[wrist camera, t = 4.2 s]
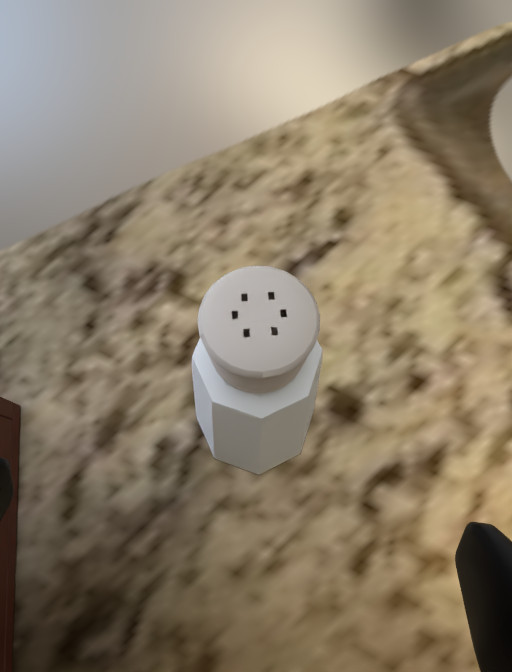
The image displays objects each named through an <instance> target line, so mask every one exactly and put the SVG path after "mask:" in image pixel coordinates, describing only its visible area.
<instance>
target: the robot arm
mask: <svg viewBox="0 0 512 672" xmlns="http://www.w3.org/2000/svg"><path fill="white" fill-rule="evenodd" d="M13 494H14V487H13V481H12V475H11V469H10V464H9V462H8V460H7V459H5V458H2V457H0V521H1V520H2V518H3V516H4V514H5V512H6V511H7V509H8V507H9V505H10V503H11V501H12V498H13ZM455 562H456V568H457V573H458V578H459V582H460V587H461V592H462V596H463V601H464V605H465V610H466V615H467V619H468V624H469V629H470V633H471V638H472V642H473V646H474V650H475V654H476V658H477V661H478V664H479V668H480V671H481V672H512V541H511V540H509V539H508V538H507V537H506V536H505V535H504V534H503V533H502V532H501V531H499V530H498V529H497V528H496V527H495V526H493V525H491V524H486V523H478V522H470V523H468V524H467V526H466V528H465V530H464V533H463V535H462V538H461V540H460V543H459V545H458V548H457V551H456V555H455Z"/></svg>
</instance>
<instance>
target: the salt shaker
mask: <svg viewBox="0 0 512 672" xmlns="http://www.w3.org/2000/svg"><path fill="white" fill-rule="evenodd" d="M198 328H199V334H200V339H199V342H198V344H197V346H196V349H195V351H194V353H193V356H192V375H193V386H194V397H195V408H196V417H197V419H198V422H199V424H200V426H201V428H202V431H203V433H204V435H205V438H206V440H207V442H208V445H209V447H210V449H211V452H212V454H213V456H214V459H217V460H219V461H222V462H225V463H228V464H230V465H233V466H236V467H239V468H241V469H244V470H247V471H249V472H252V473H255V474H258V475H260V474H262V473H264V472H266V471H268V470H269V469H271V468H273V467H275V466H277V465H279V464H281V463H283V462H285V461H287V460H289V459H291V458H293V457H295V456H297V455H299V454H301V451H302V448H303V444H304V441H305V438H306V434H307V431H308V428H309V424H310V421H311V417H312V414H313V411H314V406H315V400H316V394H317V388H318V382H319V376H320V370H321V364H322V348H321V347H320V345H319V343H318V341H317V337H318V334H319V331H320V314H319V310H318V307H317V303H316V301H315V299H314V297H313V296H312V294H311V292H310V291H309V289H308V288H307V287H306V286H305V285H304V284H303V283H302V282H301V281H300V280H299V279H298V278H296V277H294V276H293V275H291V274H289V273H287V272H286V271H283V270H280V269H276V268H273V267H267V266H251V267H244V268H240V269H237V270H235V271H232V272H230V273H227V274H226V275H224V276H223V277H222V278H220V279H219V280H218V281H216V282H215V283H214V284H213V285H212V287H211V288H210V289H209V290H208V291H207V293H206V294H205V296H204V298H203V301H202V303H201V305H200V308H199V315H198Z"/></svg>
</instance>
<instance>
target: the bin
mask: <svg viewBox="0 0 512 672" xmlns="http://www.w3.org/2000/svg"><path fill="white" fill-rule="evenodd" d="M19 428H20V405H17V404H15V403H13V402H11V401H9V400H6V399H4V398H2V397H0V457H2V458H5V459H7V460H8V462H9V464H10V469H11V475H12V481H13V487H14V494H13V498H12V501H11V503H10V505H9V507H8V509H7V511H6V512H5V514H4V516H3V518H2V520H1V521H0V672H12V658H13V625H14V592H15V559H16V526H17V493H18V461H19Z"/></svg>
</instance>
